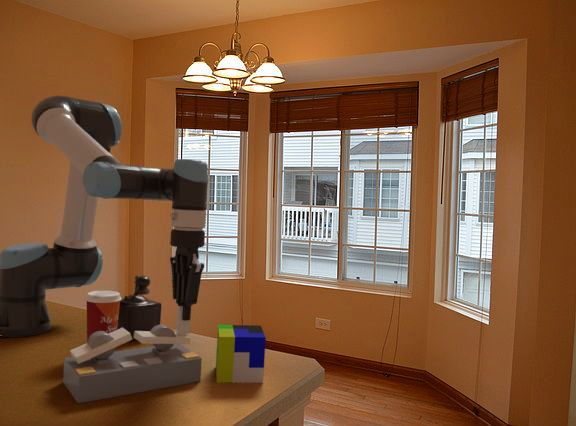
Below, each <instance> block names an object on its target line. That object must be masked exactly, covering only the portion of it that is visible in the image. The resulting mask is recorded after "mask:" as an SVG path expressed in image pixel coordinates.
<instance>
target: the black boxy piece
mask: <svg viewBox="0 0 576 426" xmlns="http://www.w3.org/2000/svg"><path fill="white" fill-rule="evenodd" d="M134 279H135V280H134V281H133V284H135V285H134V293H133V294H129V295H124V297H123V298H122V299H121V300H120V306H119V315H118V324H117V330H118V329H120V328H122V327H123V328H124V329H125V330H127V331H128V332H129V333H130V334H131V337H132V340H130V341H128V342H137V341H138V340H136V339H135V338H134V331H151V329H152V328H153V327H155V326H157V325H161V319H162V317H161V316H162V302H158V301H155V300H151V299H149V298H147V297H146V296H144V295H148V294H150V289H149V288H148V287H149V286H150V284H151V280H150V277H149V276H146V275H135V277H134ZM138 342H139V341H138Z"/></svg>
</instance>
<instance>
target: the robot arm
mask: <svg viewBox="0 0 576 426" xmlns="http://www.w3.org/2000/svg"><path fill="white" fill-rule="evenodd" d="M30 116H31V126H32V128H33V131H34V132H35V133H36V134H37V136H39V137H40V138H41V140H42V141H44V142H46V143H48V144H50V145H51V144H52V145H53V146H54V147H55V148H57V150H58V151H59V152H61V154H62V155H64V157H65V158H66V159H68V161H69V170H68V177H67V185H66V191H65V192H66V193H65V198H64V199H65V201H64V205H63V206H64V207H63V212H62V213H63V214H62V215H63V216H62V222H61V231H60V235H58V236H57V237H56V238H54V241H53V245H52V247H49V246H48V244H47V243H44V242H32V243H20V244H15V245H10V246H7V247H5V248H3V249H2V250H0V335H2V336H3V337H2V338H23V337H31V336H37V335H41V334H44V333H47V332H49V331H50V330H51V329H52V319H51V316H50V312H49V309H48V305H47V302H46V295H47V294H46V293H47V292H46V291H47V290H57V289H65V288H81V287H83V286H84V287H85V286H89V285H91V284H93V283H95V282H96V281H97V280H98V278H99V277H100V275H101V272H102V270H103V263H104V261H103V260H104V259H103V258H102V257H103V254H102V251H101V250H100V248H99V247H97V246H98V243H97V242H96V241H95V239H94V238H93V235H94V229H95V223H96V216H97V207H98V199H99V198H101V199H104V200H105V199H107V200H108V199H121V200H127V199H129V200H142V201H145V200H146V201H147V200H148V201H159V202H160V201H165V202H171V203H172V204H171V213H170V215H169V216H170V219H171V222H170V223H171V227H173V228H172V229H171V230H170V241H169V242H170V243H169V244H170V246H171V247H175V248H176V249H175V255H174V256H170V257H169V260H170V267H171V283H172V299H173V300H175V303H176V304H177V306H176V324H175V325H176V326H175V327H176V328H175V332H176V334H178V335H183V334H185V335H188V334H189V335H190V334H191V318H192V317H191V316H192V306H193V305H196V304H197V303H198V297H199V291H200V285H201V279H202V274H203V272H204V268H205V264H204V263H203V262H200V260H199V258H200V255H199V248H203V247H204V246H205V239H206V238H205V237H206V236H205V235H206V232H205V230H204V229H205V228H206V222H207V219H206V218H207V202H208V201H207V199H208V183H209V168H208V163H207V162H206V161H204V160H200V159H190V158H189V159H187V158H179V159H176V160H175V161H174V163H173V168H164V167H163V168H162V167H153V166H151V167H149V166H141V165H133V164H132V165H131V164H124V163H122V162H120V161H119V160H117V159H116V157H114V156H113V155H112V154H111V151H112V149H111V148H112V147H113V148H114V147H115V146H117V145H118V144H119V143H120V141H121V138H122V134H123V125H122V119H121V116H120V115H119V112H118V111H117V109H116V108H115V107H113V106H111V105H109V104H107V103H102V102H100V101H99V102H98V101H93V100H86V99H81V98H77V97H76V98H75V97H70V96H66V95H51V96H48V97H46V98H44V99H41V100H40V101H39V102H37V104H36V105H34V108H33V110H32V113H31V115H30Z"/></svg>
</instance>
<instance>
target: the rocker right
mask: <svg viewBox="0 0 576 426" xmlns="http://www.w3.org/2000/svg"><path fill="white" fill-rule="evenodd" d="M134 338H135V339H136V340H138V342H139V343H140V344H142V345H143V344H147V345H148V344H151V345H152V347H153V346H155V347H156V348H157V349H159V350H161V351H166V350H169V349H170V348H171V347H172V346H173V345H174V344H181V345H190V343H191V337H190V336H188V334H183V335H178V334H176V331H174V330H172V329H171V328H169V327H168V326H166V325H165V324H160V325H157V326H155V327H153V328H152V329H151V331H134Z"/></svg>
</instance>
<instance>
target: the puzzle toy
mask: <svg viewBox="0 0 576 426" xmlns="http://www.w3.org/2000/svg"><path fill="white" fill-rule="evenodd" d="M266 339H267V338H266V334H265V332H264V330H263V328H262V326H261V325H259V324H258V325H256V324H255V325H249V324H247V325H245V324H244V325H243V324H218V325H217V338H216V353H215V354H216V358H215V373H216V374H215V376H216V383H218V384H219V383H221V382H222V383H224V384H225V382H227V384H228V382H233V384H235V382H237V383H240V382H241V383H240V384H242V383H243V384H245V383H246V382H247V383H246V384H249V383H254V382H255V383H256V384H257V383H261V384H264V372H265V358H266V356H265V355H266ZM237 383H236V384H237ZM255 383H254V384H255Z"/></svg>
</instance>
